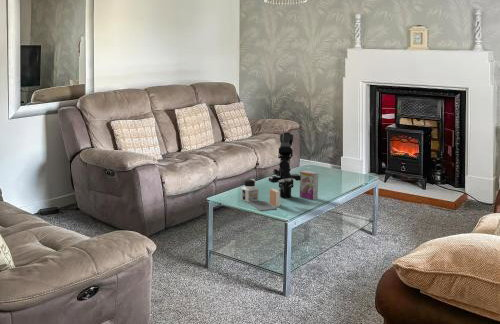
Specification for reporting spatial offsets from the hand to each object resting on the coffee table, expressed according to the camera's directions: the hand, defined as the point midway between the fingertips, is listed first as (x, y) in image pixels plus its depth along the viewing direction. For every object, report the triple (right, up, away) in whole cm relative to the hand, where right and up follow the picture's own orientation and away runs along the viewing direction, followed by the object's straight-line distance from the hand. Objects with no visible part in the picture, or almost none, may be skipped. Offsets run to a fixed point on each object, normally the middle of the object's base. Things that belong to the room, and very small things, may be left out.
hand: (284, 192), depth 352 cm
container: (-21, -5, +9) cm, 23 cm away
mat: (-13, -8, -4) cm, 16 cm away
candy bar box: (+16, -4, +15) cm, 22 cm away
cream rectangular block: (-6, -7, -1) cm, 10 cm away
